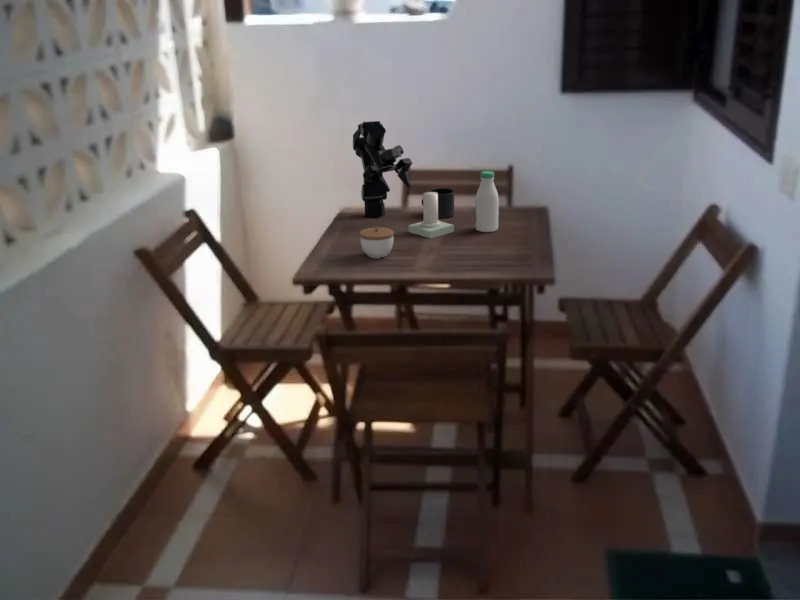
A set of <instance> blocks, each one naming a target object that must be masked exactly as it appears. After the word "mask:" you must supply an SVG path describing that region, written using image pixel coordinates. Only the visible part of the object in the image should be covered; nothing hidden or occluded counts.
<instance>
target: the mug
mask: <svg viewBox="0 0 800 600" xmlns="http://www.w3.org/2000/svg"><path fill="white" fill-rule="evenodd" d="M427 192H436V193H438V219H448V218H447V217H449V218H451V216H452V217H454V216H455V190H454V189H452V188H447V187H446V188H444V187H439V188H438V187H437V188H432V189H429V190H428V191H427ZM421 205H422V207H423V198H422V199H421ZM453 215H454V216H453Z"/></svg>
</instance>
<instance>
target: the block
mask: <svg viewBox="0 0 800 600" xmlns="http://www.w3.org/2000/svg"><path fill="white" fill-rule="evenodd" d="M439 221H440V226H438V227H434V228H427V227H423V226H422V221H420V222H415V223H412V224H409V225H408V233H409V234H414V235H417V234H418V236H420V235H421V237H424V238H426V239H427V238H428V239H433V238H436V237H440V236H444V235H447V234H451V233H455V225H454V224H451V223H448V222H444V221H441V220H439Z"/></svg>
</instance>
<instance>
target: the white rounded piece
mask: <svg viewBox="0 0 800 600" xmlns="http://www.w3.org/2000/svg"><path fill="white" fill-rule="evenodd" d="M422 199H423V206H422V210H423V211H422V212H423V220H421V222H422V226H423V227H427V228H434V227H438V226H440V221H441V220H439V218H438V193H436V192H428V191H426V192H423V193H422Z"/></svg>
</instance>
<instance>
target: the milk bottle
mask: <svg viewBox="0 0 800 600" xmlns="http://www.w3.org/2000/svg"><path fill="white" fill-rule="evenodd" d="M479 176H480V178H479V179H480V184H479V187H478V189H477V192H476V195H475V230H476V231H478V232H480V233H482V232H483V233H492V232H497V231H498V229H499V194H498V190H497V187H496V185H495V182H494V180H495V172H494V171H491V170H484V171H481V172H480V175H479Z"/></svg>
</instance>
